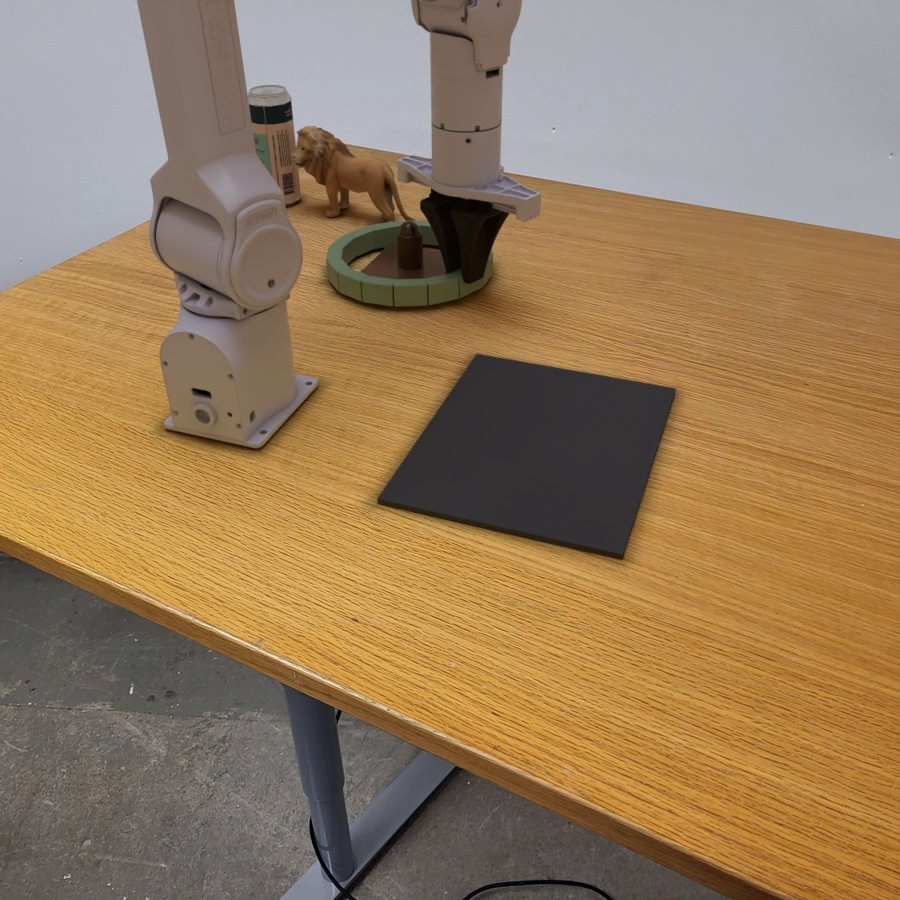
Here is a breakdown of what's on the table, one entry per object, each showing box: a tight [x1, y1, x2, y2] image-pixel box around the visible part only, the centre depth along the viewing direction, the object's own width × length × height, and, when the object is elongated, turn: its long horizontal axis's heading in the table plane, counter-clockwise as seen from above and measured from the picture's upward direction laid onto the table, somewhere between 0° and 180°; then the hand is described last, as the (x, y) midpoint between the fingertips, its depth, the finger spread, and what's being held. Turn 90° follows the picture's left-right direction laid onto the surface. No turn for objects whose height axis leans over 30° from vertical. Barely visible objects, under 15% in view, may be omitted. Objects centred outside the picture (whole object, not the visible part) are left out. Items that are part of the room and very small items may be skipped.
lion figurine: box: [290, 125, 415, 223], centre depth 98 cm, size 15×5×9 cm, turn 62°
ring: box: [325, 219, 494, 307], centre depth 88 cm, size 15×15×2 cm
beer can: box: [247, 84, 302, 207], centre depth 101 cm, size 5×5×12 cm
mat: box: [376, 353, 677, 560], centre depth 66 cm, size 20×16×1 cm
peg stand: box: [360, 220, 447, 280], centre depth 87 cm, size 8×8×5 cm
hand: (465, 276), depth 84 cm, fingers closed on ring, 1 cm apart
